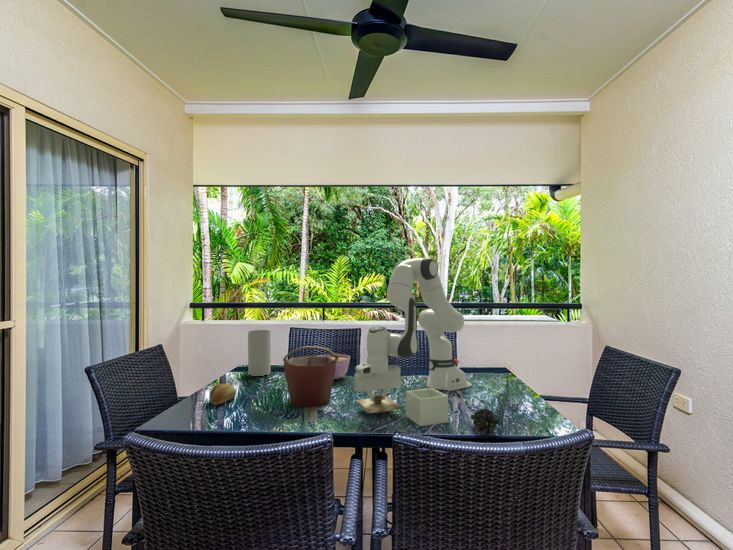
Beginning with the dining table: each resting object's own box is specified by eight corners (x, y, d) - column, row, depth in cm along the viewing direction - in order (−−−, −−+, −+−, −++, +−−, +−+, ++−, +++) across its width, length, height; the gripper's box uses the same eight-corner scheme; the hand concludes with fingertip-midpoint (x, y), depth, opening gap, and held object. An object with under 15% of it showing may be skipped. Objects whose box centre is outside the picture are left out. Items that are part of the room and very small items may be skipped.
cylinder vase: (267, 377, 231) (267, 332, 231) (245, 377, 231) (245, 332, 231) (272, 372, 243) (272, 329, 243) (251, 372, 243) (251, 330, 244)
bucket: (345, 398, 190) (344, 343, 190) (324, 413, 169) (324, 352, 169) (297, 393, 198) (297, 341, 198) (273, 407, 177) (272, 349, 177)
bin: (432, 412, 169) (432, 388, 169) (448, 422, 157) (447, 395, 157) (406, 416, 164) (406, 391, 164) (420, 426, 153) (419, 399, 153)
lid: (386, 401, 178) (386, 389, 178) (400, 411, 165) (400, 397, 165) (356, 405, 173) (356, 392, 173) (367, 415, 160) (367, 401, 160)
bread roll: (203, 406, 179) (203, 388, 179) (220, 396, 194) (220, 379, 194) (224, 407, 178) (224, 389, 178) (239, 397, 192) (239, 380, 192)
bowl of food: (357, 376, 230) (357, 356, 230) (336, 384, 213) (336, 362, 214) (329, 372, 241) (329, 352, 241) (306, 379, 224) (306, 358, 224)
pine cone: (469, 398, 157) (483, 410, 142) (489, 405, 157) (505, 417, 142) (462, 420, 156) (476, 434, 141) (483, 426, 157) (498, 441, 142)
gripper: (397, 363, 175) (397, 395, 175) (351, 367, 168) (352, 400, 168) (403, 366, 170) (403, 399, 169) (356, 370, 163) (357, 405, 162)
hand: (377, 400), depth 169 cm, fingers closed on lid, 3 cm apart
